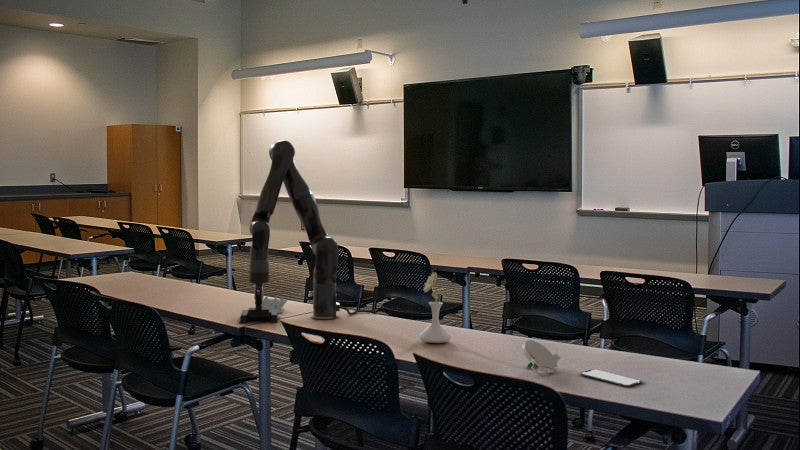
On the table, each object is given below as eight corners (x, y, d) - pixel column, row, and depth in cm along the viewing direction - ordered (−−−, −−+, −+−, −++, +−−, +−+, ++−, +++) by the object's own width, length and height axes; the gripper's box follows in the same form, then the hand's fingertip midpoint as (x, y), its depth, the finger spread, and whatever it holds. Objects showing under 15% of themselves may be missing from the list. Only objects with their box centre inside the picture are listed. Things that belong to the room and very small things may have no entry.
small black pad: (269, 315, 285) (269, 307, 285) (268, 317, 280) (268, 309, 280) (248, 315, 284) (248, 307, 284) (248, 317, 279) (248, 309, 279)
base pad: (277, 316, 292) (277, 309, 292) (276, 322, 280) (276, 315, 280) (242, 317, 290) (242, 310, 290) (240, 323, 278) (240, 315, 278)
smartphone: (643, 382, 202) (594, 370, 214) (643, 380, 202) (594, 368, 214) (628, 387, 196) (578, 374, 208) (628, 385, 196) (578, 372, 208)
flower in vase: (421, 337, 257) (422, 268, 255) (452, 339, 255) (454, 269, 253) (415, 345, 244) (416, 272, 242) (449, 347, 242) (450, 274, 240)
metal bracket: (259, 293, 313) (292, 295, 310) (261, 305, 315) (293, 307, 312) (247, 308, 300) (280, 310, 297) (248, 320, 302) (282, 322, 299)
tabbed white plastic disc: (545, 374, 205) (527, 339, 208) (523, 385, 209) (506, 349, 212) (566, 364, 217) (549, 331, 220) (545, 374, 221) (529, 341, 224)
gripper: (268, 272, 274) (268, 316, 275) (269, 268, 289) (269, 310, 290) (248, 272, 273) (248, 316, 274) (250, 268, 287) (250, 310, 288)
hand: (258, 313), depth 282 cm, fingers closed on small black pad, 5 cm apart
